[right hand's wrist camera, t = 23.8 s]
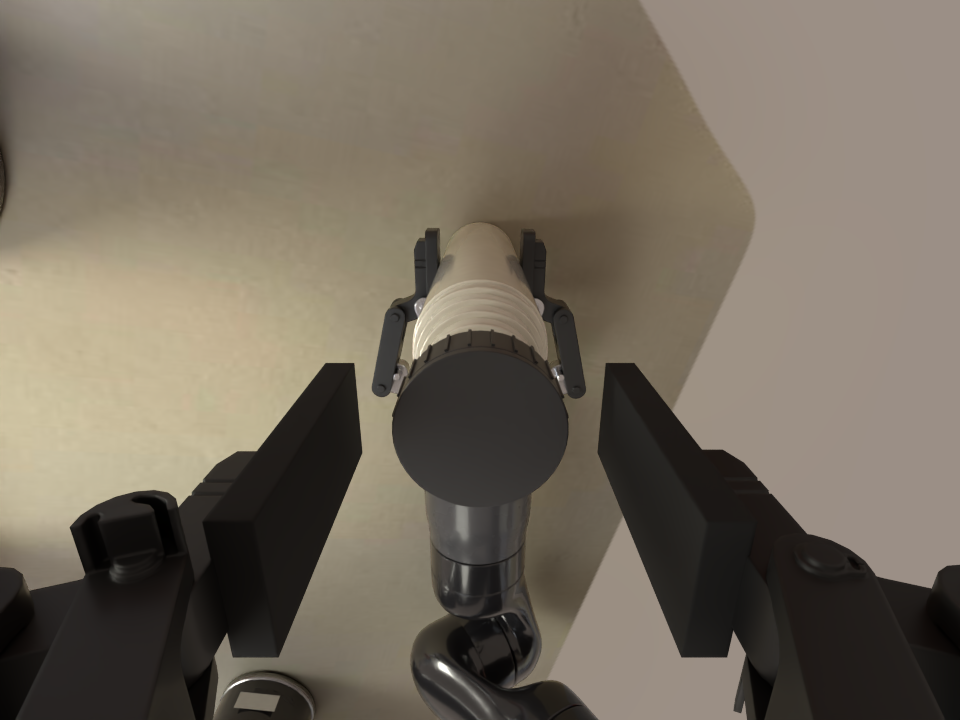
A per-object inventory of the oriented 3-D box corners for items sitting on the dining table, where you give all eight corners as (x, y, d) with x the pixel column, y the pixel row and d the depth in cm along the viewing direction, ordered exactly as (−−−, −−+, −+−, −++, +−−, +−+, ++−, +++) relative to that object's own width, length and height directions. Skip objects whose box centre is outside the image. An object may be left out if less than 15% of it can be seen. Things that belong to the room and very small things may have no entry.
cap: (385, 453, 15) (373, 487, 13) (420, 309, 13) (412, 328, 12) (532, 488, 15) (538, 525, 14) (583, 352, 14) (596, 376, 12)
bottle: (443, 288, 38) (383, 493, 14) (447, 219, 37) (386, 321, 13) (510, 293, 38) (561, 505, 14) (517, 225, 37) (589, 337, 13)
